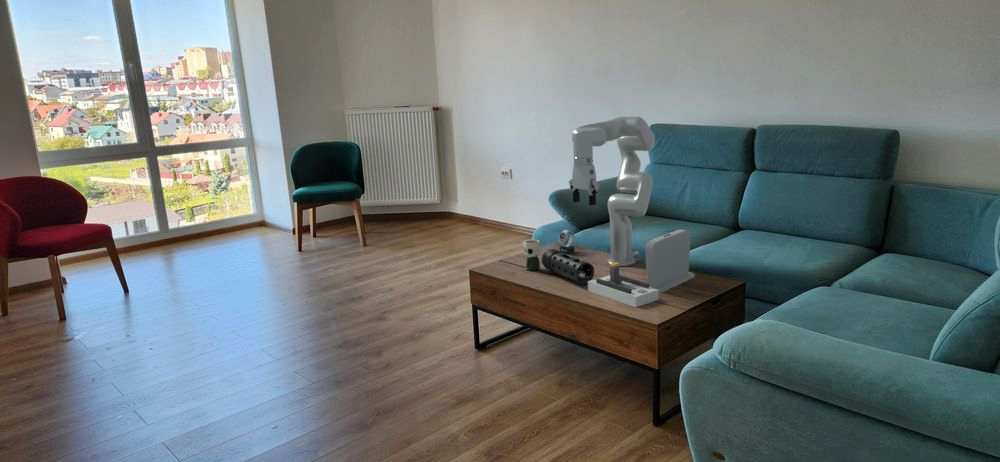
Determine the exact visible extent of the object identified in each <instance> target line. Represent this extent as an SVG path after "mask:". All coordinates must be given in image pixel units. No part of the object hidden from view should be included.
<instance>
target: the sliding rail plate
mask: <svg viewBox="0 0 1000 462" xmlns="http://www.w3.org/2000/svg"><path fill="white" fill-rule="evenodd" d="M595 279H596V283H598V284H601V285H604V286H607V287H610V288H613V289H616V290H619V291H622V292H625V293H628V294H631V293H632V289H630V288H627V287H623V286H620V285H617V284H614V283H611V282H608V281H605V280H602V279H598V278H595ZM619 280H621V281H624V282H628V283H631V284H634V285H637V286H640V287H644V288H649V284H648V283H647V282H644V281H641V280H637V279H635V278H631V277H627V276H624V275H622V274H619Z"/></svg>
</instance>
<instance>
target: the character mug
mask: <svg viewBox="0 0 1000 462" xmlns="http://www.w3.org/2000/svg"><path fill="white" fill-rule="evenodd" d="M522 246H523V247H522V248H523V254H524V256H525V257H526V263H525V264H526V265H525V270H528V271H537V270H539V269H540V268H541V265H540V259H539V256H540V255H542V247H541V241H540V240H538V239H527V240H524V241H523V244H522Z"/></svg>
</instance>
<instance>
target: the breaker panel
mask: <svg viewBox="0 0 1000 462" xmlns="http://www.w3.org/2000/svg"><path fill="white" fill-rule="evenodd" d="M596 279H602V280H605V281H608V280H610V274H609V275H605V276H602V277H597V278H595V279H592V280H591V281H588V283H587V290H588V292H591V293H593V294H596V295H599V296H602V297H605V298H608V299H611V300H613V301H617V302H619V303H622V304H625V305H628V306H631V307H633V308H638V307H641V306H644V305H647V304H650V303H654V302H655V301H659V293H658V289H654V288H651V287H649V288H644V287H640V286H637V285H634V284H631V283H628V282H624V281H622V283H618V284H617V285H620V286H623V287H627V288H630V289H632V293H631V294H628V293H625V292H622V291H619V290H616V289H613V288H610V287H607V286H604V285H601V284H598V283H596Z"/></svg>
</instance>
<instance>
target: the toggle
mask: <svg viewBox="0 0 1000 462" xmlns="http://www.w3.org/2000/svg"><path fill="white" fill-rule="evenodd" d="M620 267H621V266H620V263H616V262H615V263H611V264H609V275H610V280H608V282H611V283H614V284H618V283H622V281H621V280H619V275H620Z"/></svg>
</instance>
